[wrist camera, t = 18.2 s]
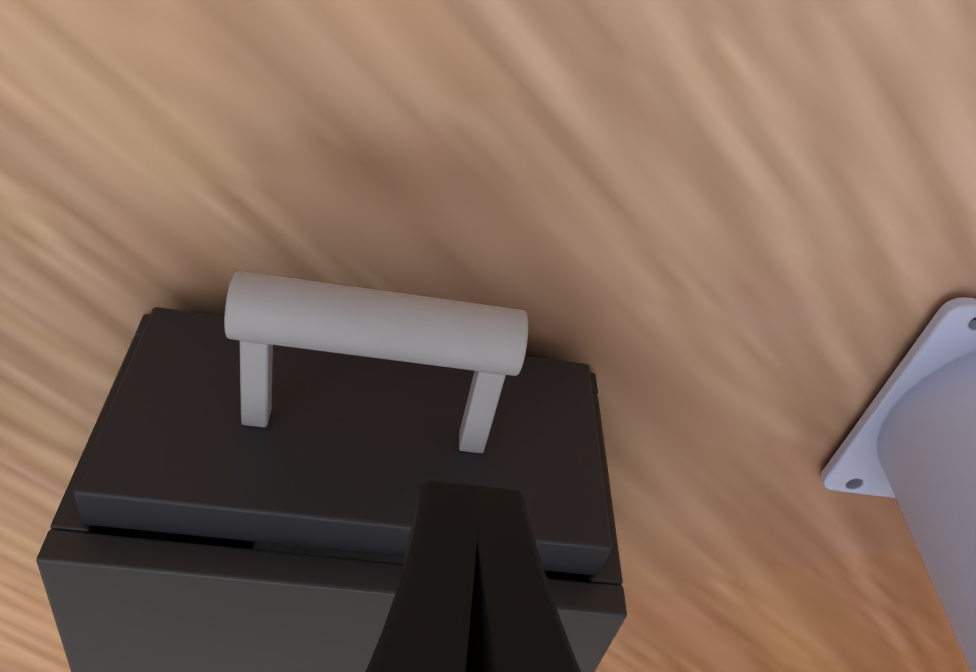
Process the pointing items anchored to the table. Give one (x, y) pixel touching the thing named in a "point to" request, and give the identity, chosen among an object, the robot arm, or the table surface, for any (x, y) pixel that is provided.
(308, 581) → the air fryer
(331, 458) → the basket
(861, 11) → the table surface
